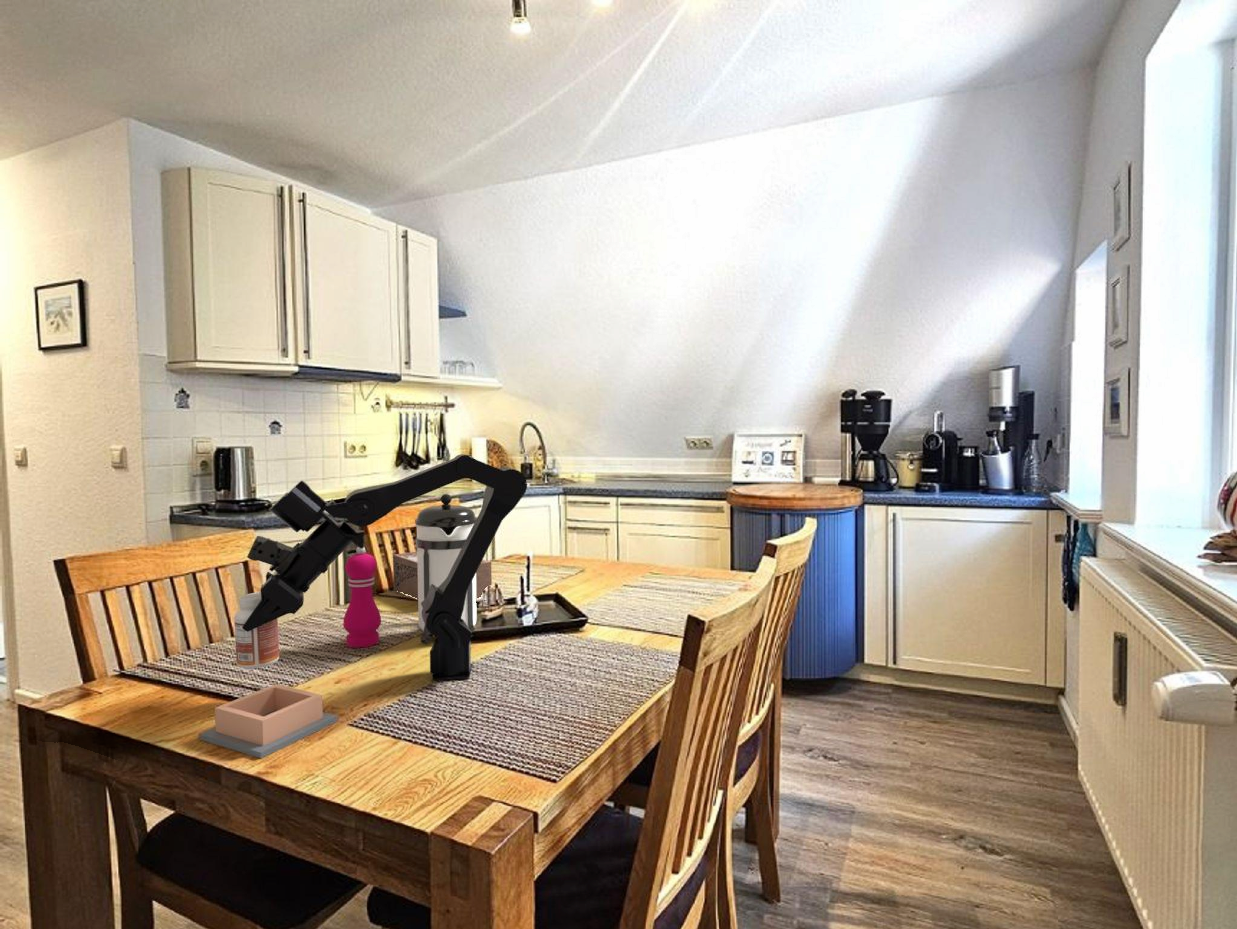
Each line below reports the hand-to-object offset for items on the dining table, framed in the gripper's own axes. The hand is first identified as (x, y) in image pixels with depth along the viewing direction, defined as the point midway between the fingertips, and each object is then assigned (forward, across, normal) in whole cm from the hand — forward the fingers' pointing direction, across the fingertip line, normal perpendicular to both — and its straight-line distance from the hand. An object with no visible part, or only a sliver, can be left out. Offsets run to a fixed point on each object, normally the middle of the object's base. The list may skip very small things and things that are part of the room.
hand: (246, 624), depth 112 cm
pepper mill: (-4, -24, +22) cm, 33 cm away
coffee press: (-15, -25, +34) cm, 45 cm away
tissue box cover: (-18, -59, +37) cm, 72 cm away
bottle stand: (+6, +13, +12) cm, 19 cm away
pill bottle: (+4, 0, +6) cm, 7 cm away
